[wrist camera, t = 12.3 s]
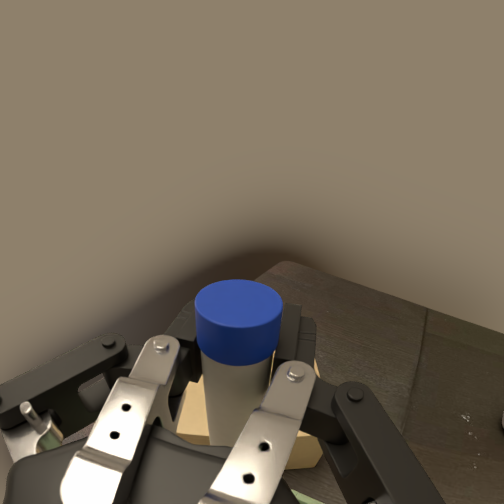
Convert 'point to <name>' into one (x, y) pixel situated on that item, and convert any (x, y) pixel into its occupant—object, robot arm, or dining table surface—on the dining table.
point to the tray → (305, 498)
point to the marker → (235, 352)
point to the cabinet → (196, 431)
